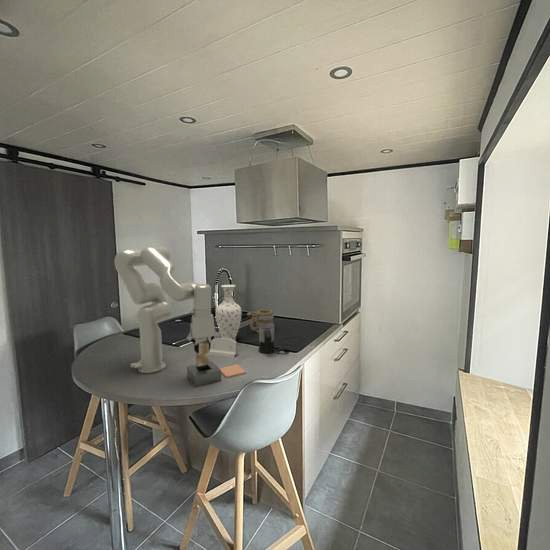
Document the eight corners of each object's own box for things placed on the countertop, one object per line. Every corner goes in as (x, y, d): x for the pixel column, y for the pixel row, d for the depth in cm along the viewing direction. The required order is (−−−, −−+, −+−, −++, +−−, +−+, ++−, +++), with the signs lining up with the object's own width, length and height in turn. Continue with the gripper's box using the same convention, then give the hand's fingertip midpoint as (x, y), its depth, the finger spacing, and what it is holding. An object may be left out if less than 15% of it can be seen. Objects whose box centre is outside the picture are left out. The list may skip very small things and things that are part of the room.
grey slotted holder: (194, 387, 130) (194, 376, 129) (187, 376, 140) (186, 366, 139) (221, 380, 136) (221, 370, 135) (211, 370, 146) (211, 361, 146)
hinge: (206, 354, 167) (209, 336, 169) (210, 354, 171) (213, 336, 174) (234, 357, 163) (236, 338, 165) (237, 357, 167) (240, 339, 169)
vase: (211, 343, 185) (210, 286, 181) (223, 335, 201) (222, 283, 196) (234, 346, 180) (234, 288, 176) (245, 337, 196) (245, 284, 191)
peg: (199, 366, 134) (199, 344, 133) (196, 362, 138) (196, 341, 137) (208, 364, 137) (208, 342, 135) (205, 360, 140) (205, 340, 139)
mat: (226, 378, 138) (226, 376, 138) (218, 370, 147) (218, 368, 147) (246, 373, 144) (246, 371, 144) (237, 365, 152) (237, 364, 152)
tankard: (268, 327, 219) (268, 307, 218) (277, 332, 208) (277, 310, 207) (243, 331, 210) (243, 310, 208) (250, 336, 199) (250, 314, 197)
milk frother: (255, 349, 176) (255, 324, 174) (279, 345, 183) (280, 321, 181) (266, 357, 163) (266, 331, 161) (291, 353, 170) (292, 327, 168)
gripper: (185, 316, 127) (186, 357, 129) (223, 311, 136) (223, 350, 138) (180, 312, 133) (181, 351, 135) (217, 308, 142) (217, 345, 144)
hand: (202, 350), depth 137 cm, fingers closed on peg, 4 cm apart
